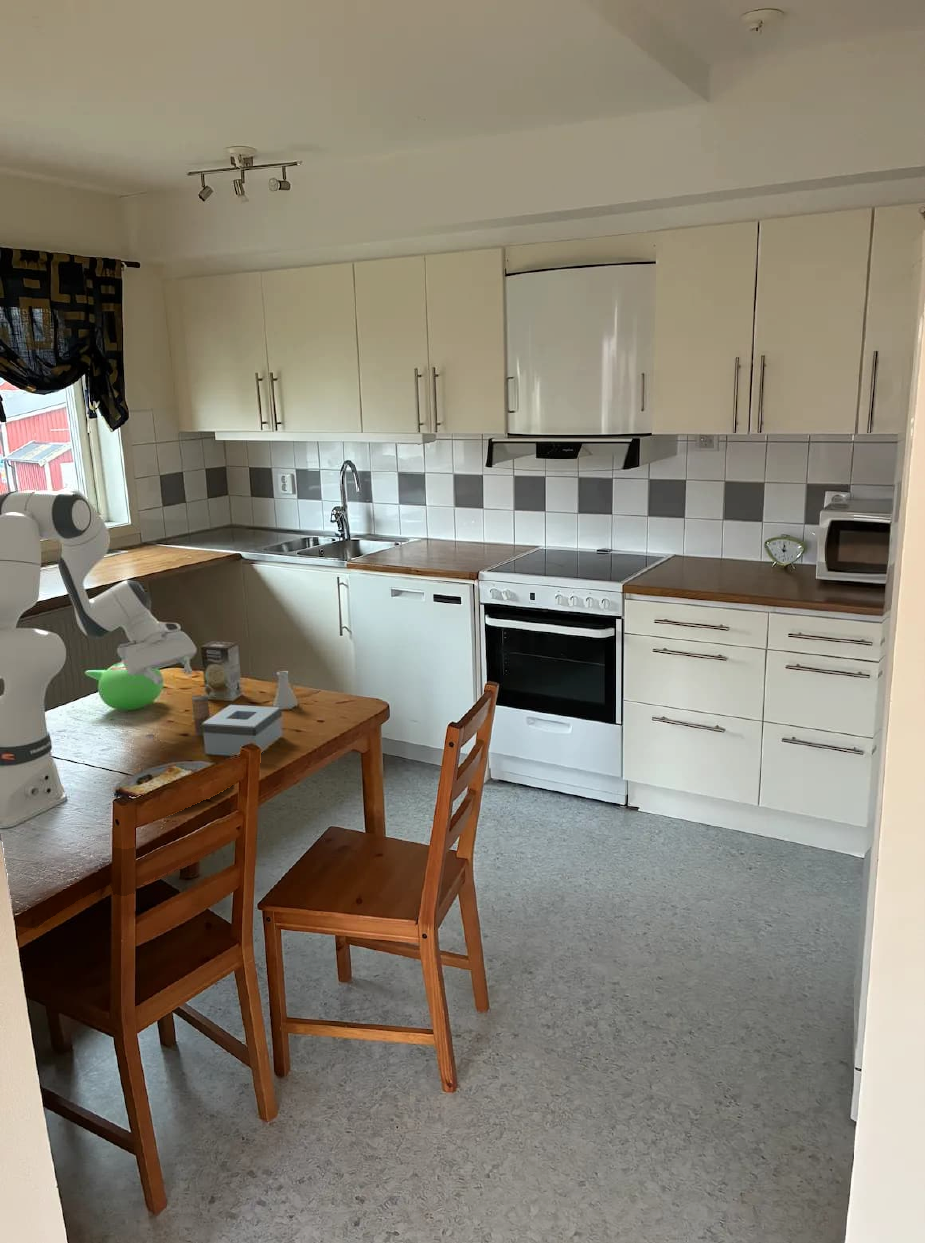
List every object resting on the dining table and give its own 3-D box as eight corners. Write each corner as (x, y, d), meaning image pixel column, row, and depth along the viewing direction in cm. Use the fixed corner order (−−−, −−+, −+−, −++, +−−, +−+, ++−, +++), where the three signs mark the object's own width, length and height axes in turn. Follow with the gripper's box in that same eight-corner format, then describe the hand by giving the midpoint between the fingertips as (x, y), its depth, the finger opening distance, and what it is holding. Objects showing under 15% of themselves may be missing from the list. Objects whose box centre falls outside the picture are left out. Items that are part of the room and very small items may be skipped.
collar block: (257, 757, 229) (254, 726, 227) (204, 754, 233) (200, 723, 231) (283, 736, 242) (281, 707, 240) (232, 733, 246) (229, 704, 244)
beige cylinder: (206, 736, 245) (202, 700, 242) (192, 735, 246) (188, 699, 243) (214, 731, 248) (210, 695, 246) (200, 730, 249) (196, 694, 247)
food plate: (168, 821, 196) (166, 805, 195) (92, 802, 207) (90, 787, 206) (250, 780, 217) (249, 766, 216) (178, 765, 228) (176, 751, 228)
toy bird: (126, 721, 258) (119, 670, 255) (86, 712, 267) (80, 663, 264) (177, 702, 273) (171, 653, 270) (138, 694, 282) (132, 647, 278)
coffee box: (204, 699, 275) (198, 646, 271) (216, 692, 281) (211, 640, 277) (232, 701, 272) (226, 647, 268) (243, 694, 278) (238, 642, 274)
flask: (292, 711, 262) (290, 676, 260) (268, 710, 264) (265, 675, 261) (302, 702, 269) (299, 669, 267) (278, 701, 270) (275, 668, 268)
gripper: (117, 639, 243) (144, 681, 240) (183, 622, 259) (209, 661, 255) (109, 653, 247) (136, 695, 243) (175, 635, 263) (201, 674, 259)
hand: (174, 677), depth 249 cm, fingers open, 8 cm apart
